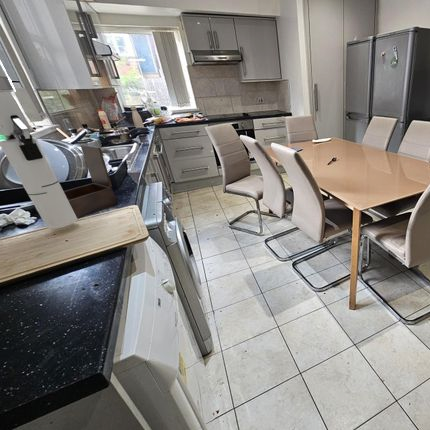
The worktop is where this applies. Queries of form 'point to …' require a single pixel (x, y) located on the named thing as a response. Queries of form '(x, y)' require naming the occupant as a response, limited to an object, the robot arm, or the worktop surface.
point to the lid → (96, 164)
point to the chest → (90, 199)
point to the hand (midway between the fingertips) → (29, 157)
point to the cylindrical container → (40, 185)
